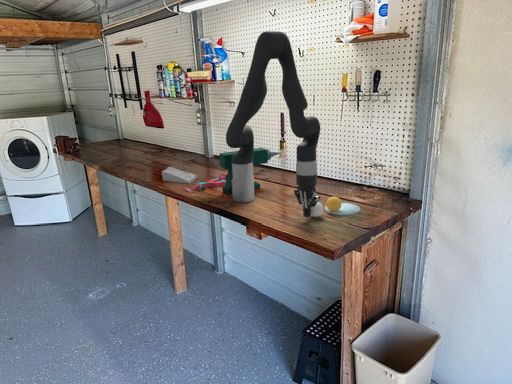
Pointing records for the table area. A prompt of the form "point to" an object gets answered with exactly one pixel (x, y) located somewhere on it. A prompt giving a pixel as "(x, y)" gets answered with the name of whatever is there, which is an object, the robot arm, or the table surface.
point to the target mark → (345, 209)
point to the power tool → (258, 158)
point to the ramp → (177, 175)
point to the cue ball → (317, 210)
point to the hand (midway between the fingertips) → (306, 216)
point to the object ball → (333, 204)
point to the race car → (209, 183)
